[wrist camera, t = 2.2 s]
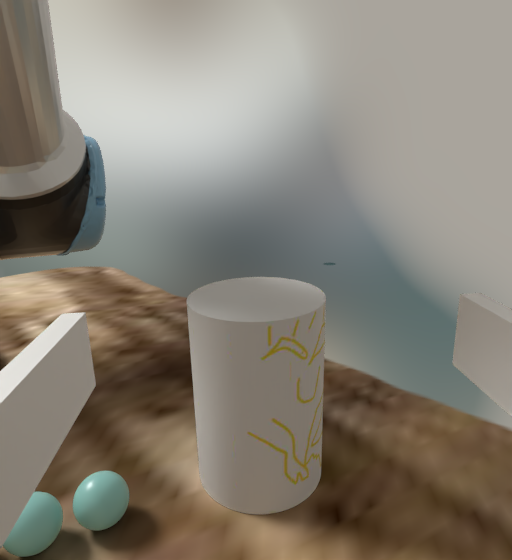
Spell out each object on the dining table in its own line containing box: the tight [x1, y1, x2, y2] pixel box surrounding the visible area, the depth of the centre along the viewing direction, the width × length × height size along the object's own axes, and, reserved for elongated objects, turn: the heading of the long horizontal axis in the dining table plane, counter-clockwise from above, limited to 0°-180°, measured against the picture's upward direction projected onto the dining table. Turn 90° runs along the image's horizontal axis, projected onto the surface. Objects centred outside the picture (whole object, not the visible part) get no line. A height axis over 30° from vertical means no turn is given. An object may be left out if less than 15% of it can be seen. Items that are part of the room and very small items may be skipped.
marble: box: [73, 471, 129, 531], centre depth 24 cm, size 3×3×3 cm
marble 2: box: [3, 492, 63, 557], centre depth 22 cm, size 3×3×3 cm
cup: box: [187, 277, 326, 514], centre depth 27 cm, size 8×8×12 cm
